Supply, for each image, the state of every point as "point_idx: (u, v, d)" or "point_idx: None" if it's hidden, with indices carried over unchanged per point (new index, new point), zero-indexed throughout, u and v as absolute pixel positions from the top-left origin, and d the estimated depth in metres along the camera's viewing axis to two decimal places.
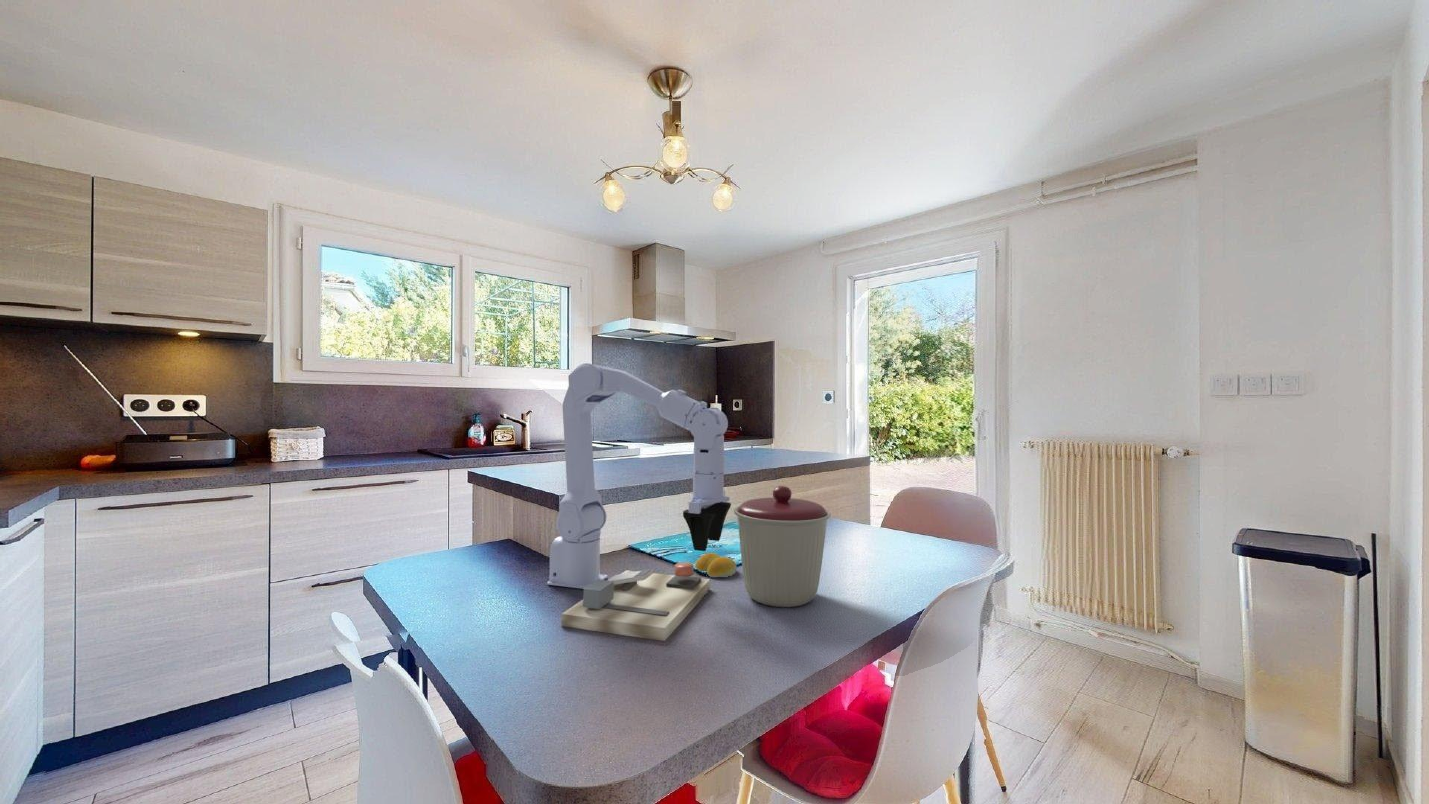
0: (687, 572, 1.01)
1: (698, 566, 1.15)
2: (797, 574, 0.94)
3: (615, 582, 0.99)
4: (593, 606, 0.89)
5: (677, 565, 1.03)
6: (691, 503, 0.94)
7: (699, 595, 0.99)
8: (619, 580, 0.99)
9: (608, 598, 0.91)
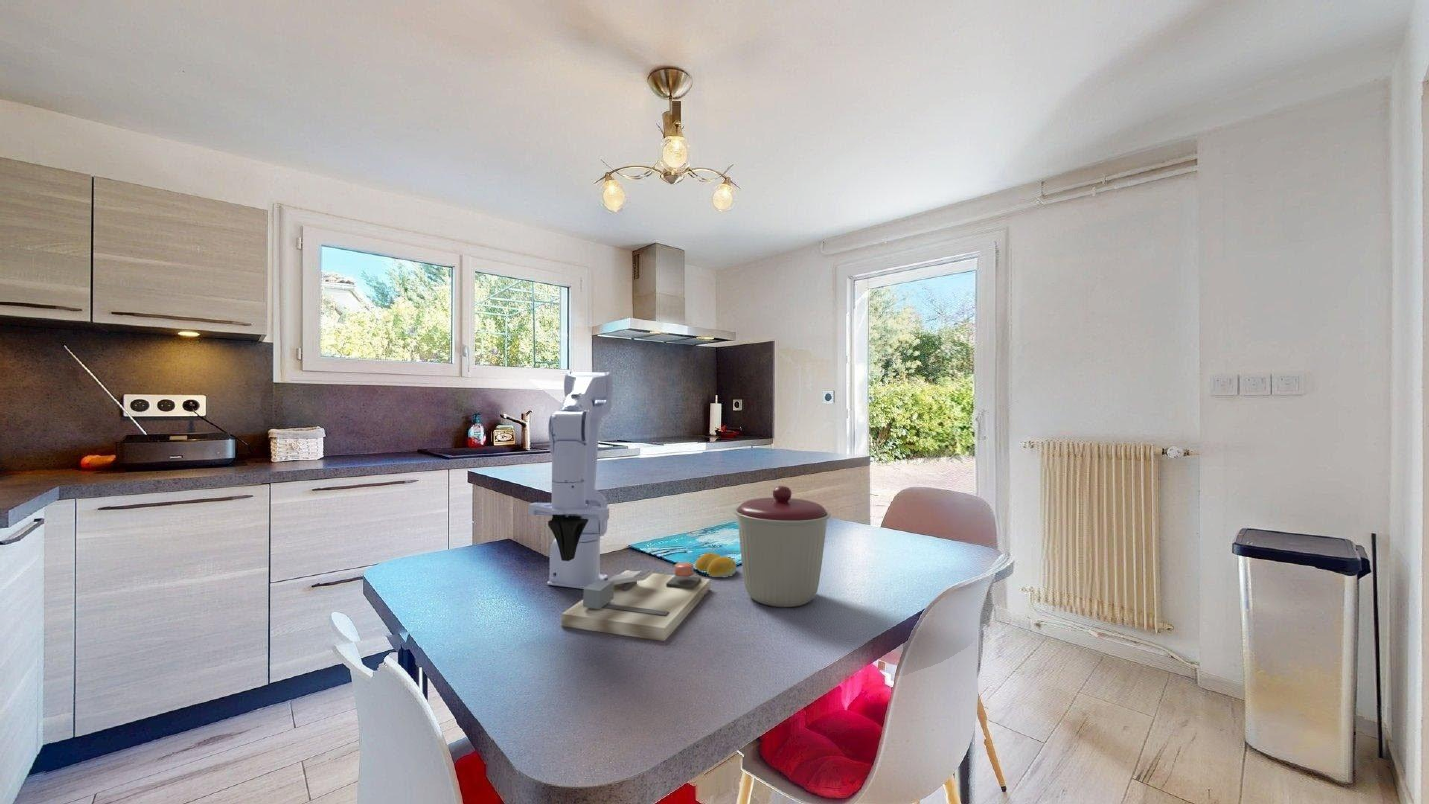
0: (687, 572, 1.01)
1: (698, 566, 1.15)
2: (797, 574, 0.94)
3: (615, 582, 0.99)
4: (593, 606, 0.89)
5: (677, 565, 1.03)
6: None
7: (699, 595, 0.99)
8: (619, 580, 0.99)
9: (608, 598, 0.91)
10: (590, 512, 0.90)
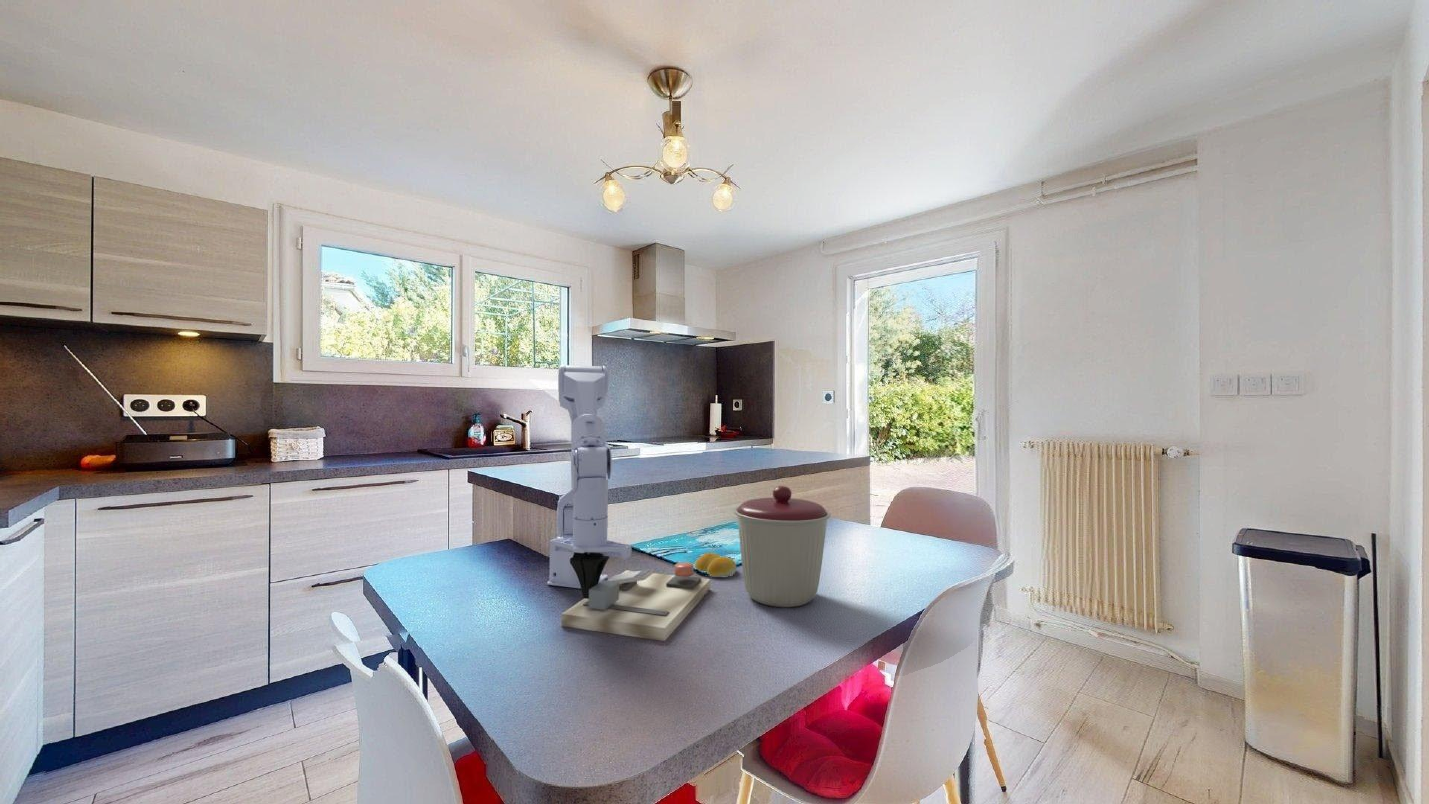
0: (687, 572, 1.01)
1: (698, 566, 1.15)
2: (797, 574, 0.94)
3: None
4: (599, 607, 0.88)
5: (677, 565, 1.03)
6: None
7: (699, 595, 0.99)
8: (619, 580, 0.99)
9: (613, 598, 0.91)
10: (612, 550, 0.89)
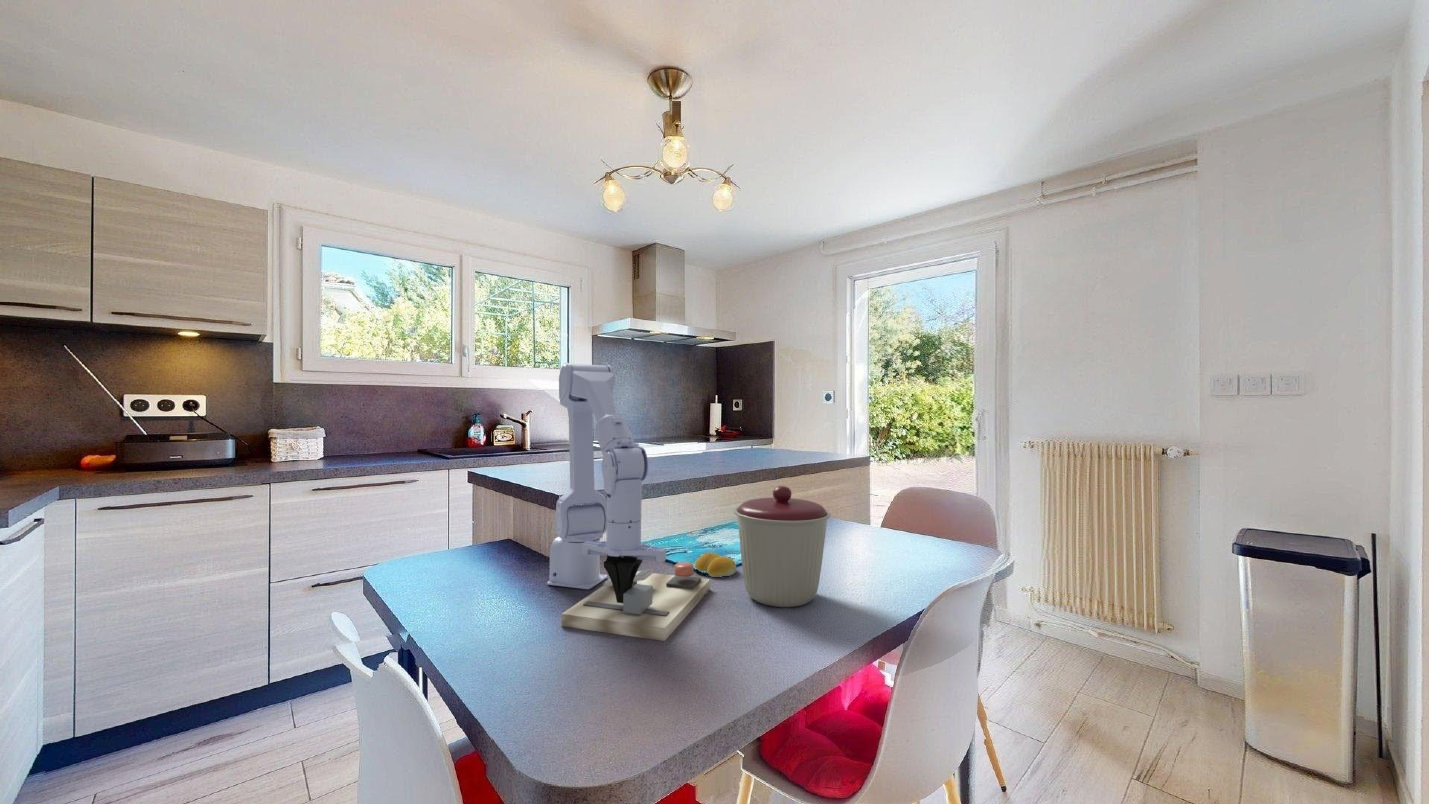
0: (687, 572, 1.01)
1: (698, 566, 1.15)
2: (797, 574, 0.94)
3: None
4: (633, 611, 0.87)
5: (677, 565, 1.03)
6: None
7: (699, 595, 0.99)
8: None
9: (647, 603, 0.89)
10: (647, 553, 0.87)
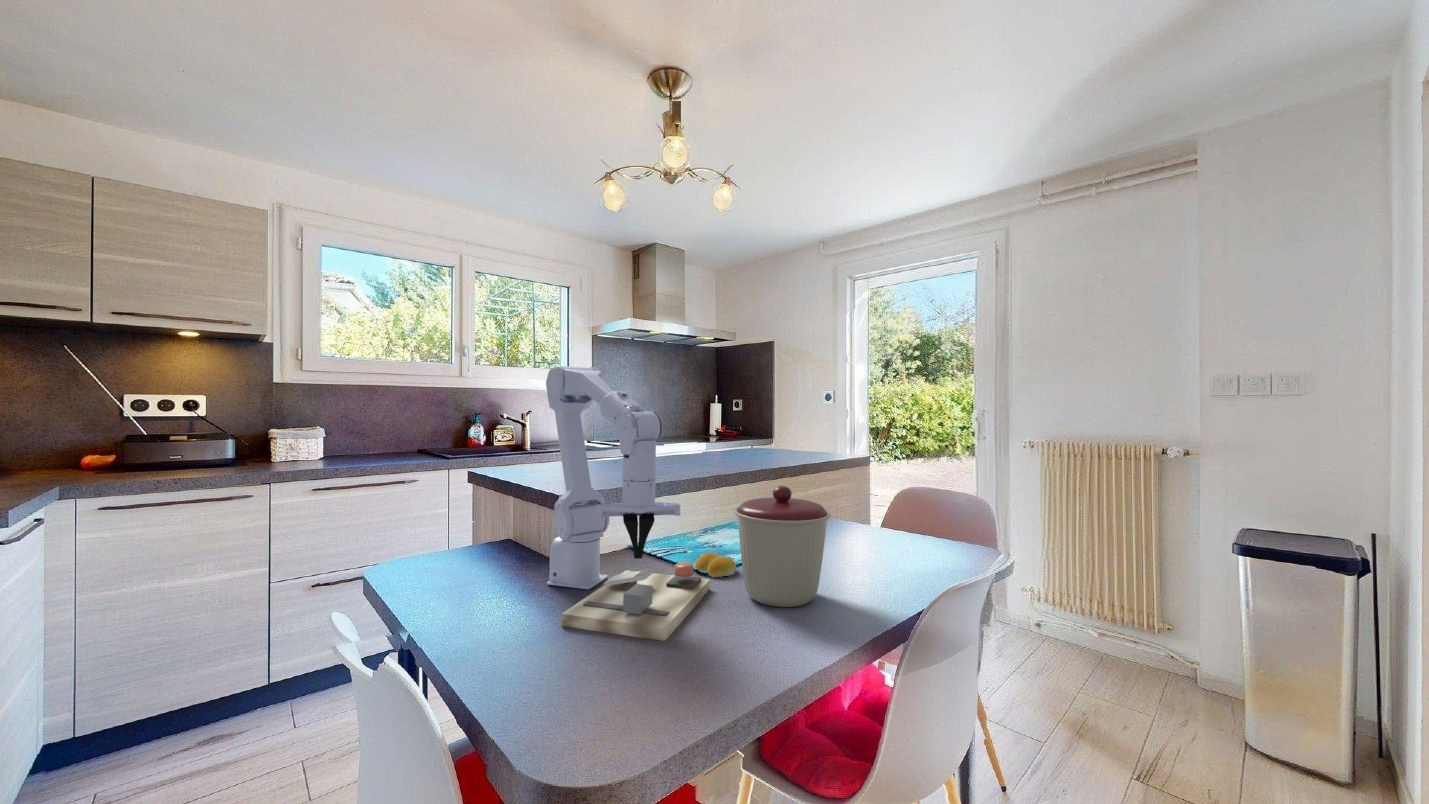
0: (687, 572, 1.01)
1: (698, 566, 1.15)
2: (797, 574, 0.94)
3: (615, 582, 0.99)
4: (633, 611, 0.87)
5: (677, 565, 1.03)
6: (596, 506, 0.94)
7: (699, 595, 0.99)
8: (619, 580, 0.99)
9: (647, 603, 0.89)
10: (667, 508, 0.94)
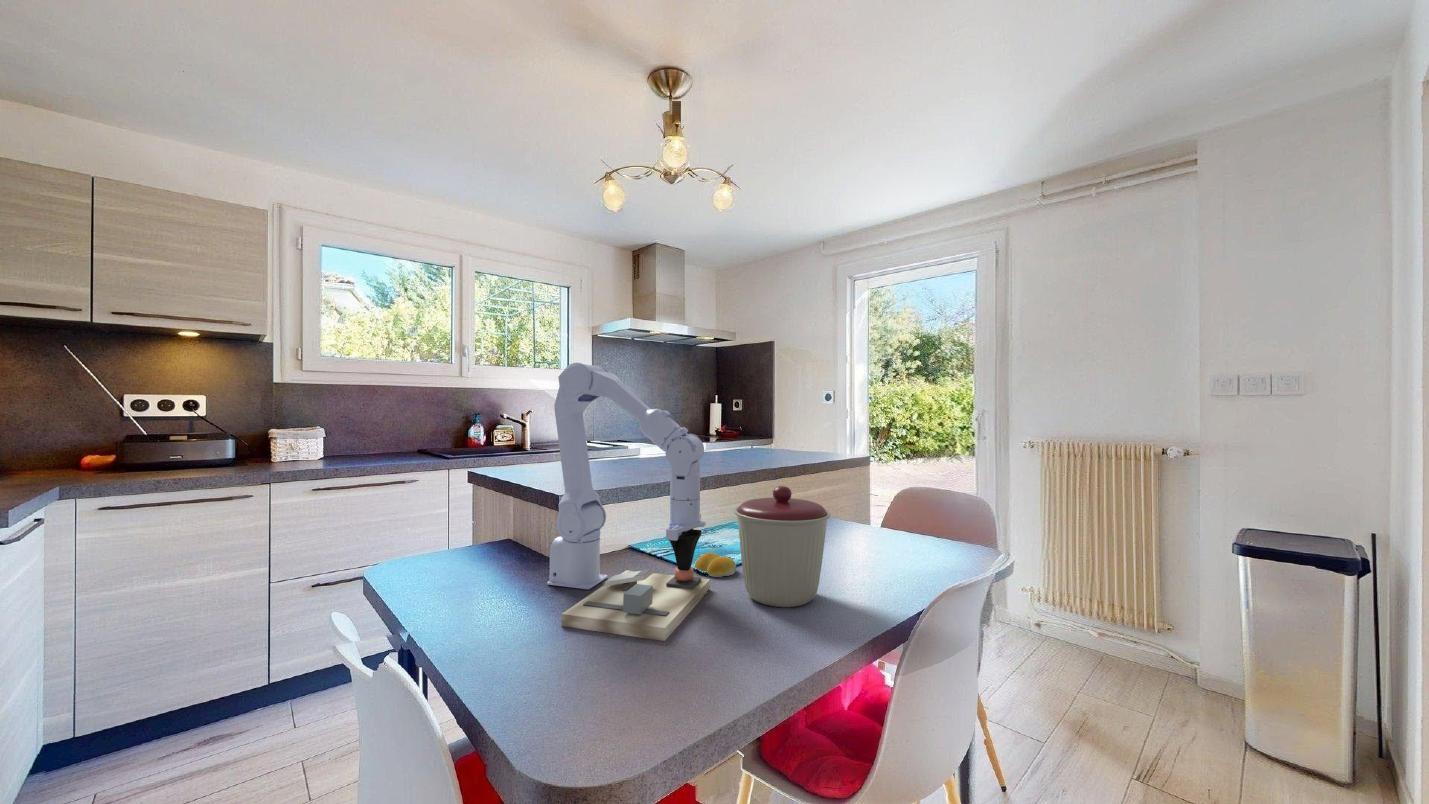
0: (687, 576, 1.01)
1: (698, 566, 1.15)
2: (797, 574, 0.94)
3: (615, 582, 0.99)
4: (633, 611, 0.87)
5: (677, 569, 1.03)
6: (668, 530, 0.96)
7: (699, 595, 0.99)
8: (619, 580, 0.99)
9: (647, 603, 0.89)
10: None
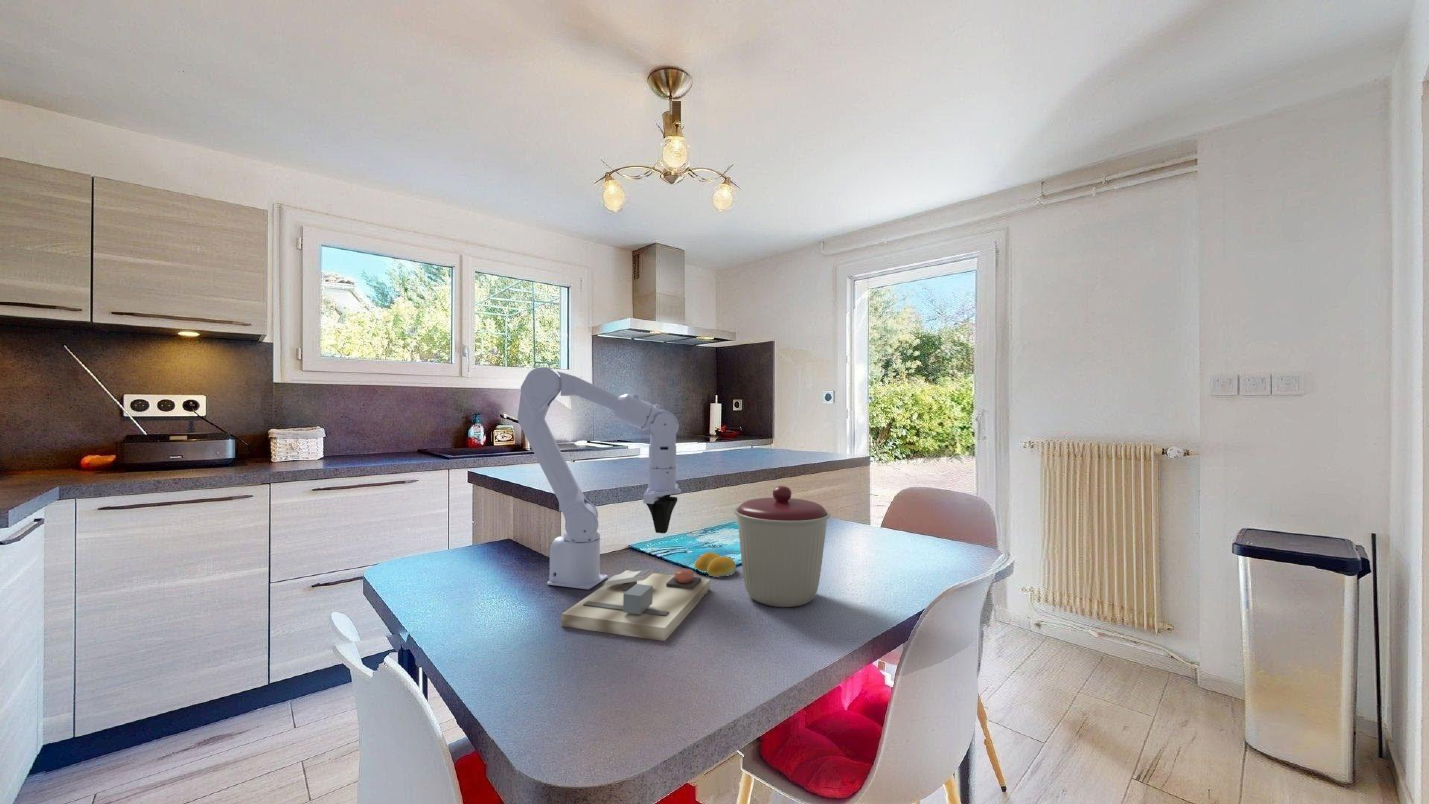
0: (687, 579, 1.01)
1: (698, 566, 1.15)
2: (797, 574, 0.94)
3: (615, 582, 0.99)
4: (633, 611, 0.87)
5: (677, 571, 1.03)
6: (645, 494, 1.06)
7: (699, 595, 0.99)
8: (619, 580, 0.99)
9: (647, 603, 0.89)
10: None
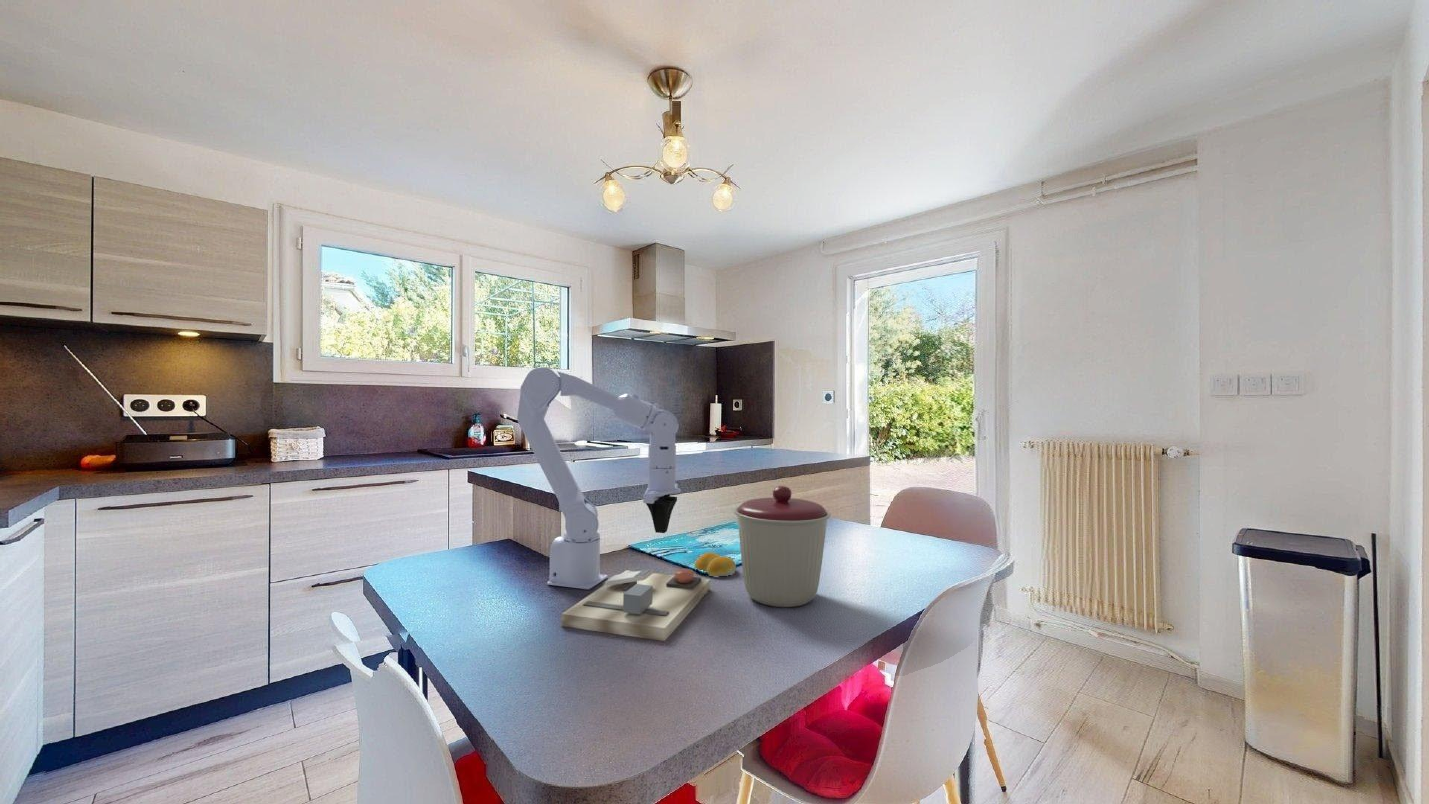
0: (687, 579, 1.01)
1: (698, 566, 1.15)
2: (797, 574, 0.94)
3: (615, 582, 0.99)
4: (633, 611, 0.87)
5: (677, 571, 1.03)
6: (645, 494, 1.06)
7: (699, 595, 0.99)
8: (619, 580, 0.99)
9: (647, 603, 0.89)
10: None
